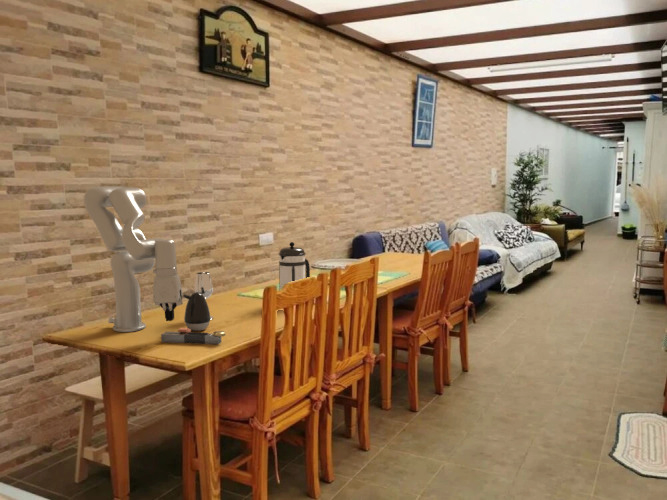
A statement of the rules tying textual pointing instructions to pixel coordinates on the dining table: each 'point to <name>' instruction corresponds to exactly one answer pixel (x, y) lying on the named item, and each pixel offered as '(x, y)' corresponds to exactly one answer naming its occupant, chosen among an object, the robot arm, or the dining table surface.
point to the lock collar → (184, 330)
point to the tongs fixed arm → (216, 333)
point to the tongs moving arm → (190, 338)
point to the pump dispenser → (196, 312)
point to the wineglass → (204, 285)
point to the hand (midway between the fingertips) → (169, 320)
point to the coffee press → (292, 264)
